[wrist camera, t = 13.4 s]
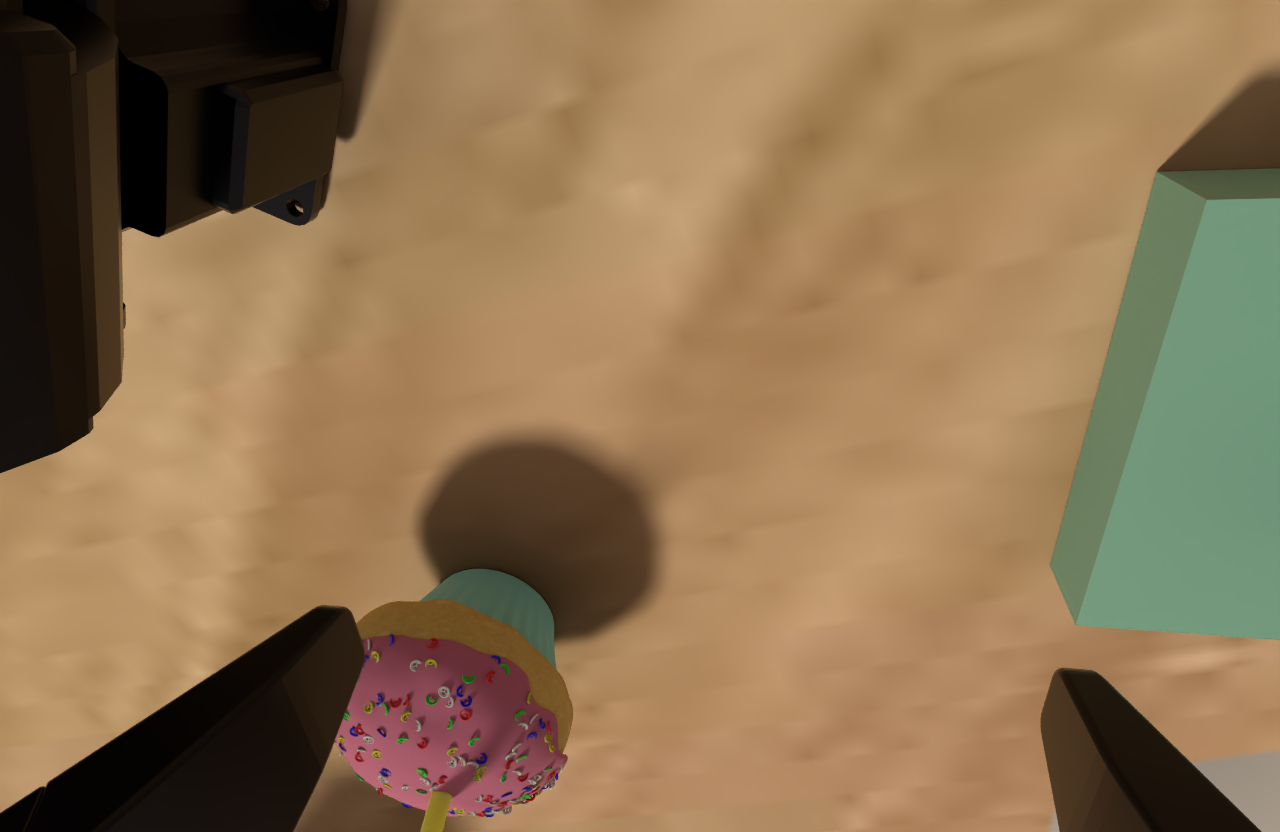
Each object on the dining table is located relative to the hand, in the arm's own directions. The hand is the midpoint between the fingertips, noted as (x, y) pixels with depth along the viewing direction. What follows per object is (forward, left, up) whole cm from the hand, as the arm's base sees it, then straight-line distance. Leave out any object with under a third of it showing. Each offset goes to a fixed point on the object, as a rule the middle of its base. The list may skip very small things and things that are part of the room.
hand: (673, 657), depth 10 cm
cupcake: (-3, -16, -13) cm, 21 cm away
